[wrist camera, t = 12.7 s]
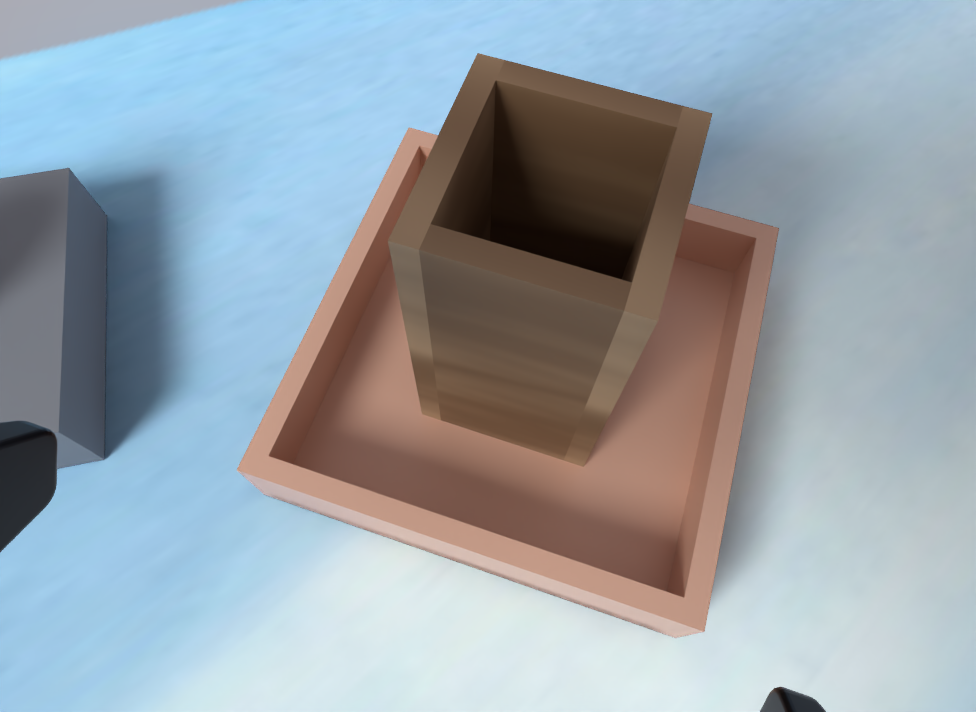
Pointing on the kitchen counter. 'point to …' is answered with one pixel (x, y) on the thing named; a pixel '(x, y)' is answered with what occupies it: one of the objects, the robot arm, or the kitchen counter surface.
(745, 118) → the kitchen counter surface
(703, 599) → the terracotta tray
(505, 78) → the walnut sleeve
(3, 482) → the robot arm
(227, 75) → the kitchen counter surface
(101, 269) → the block
